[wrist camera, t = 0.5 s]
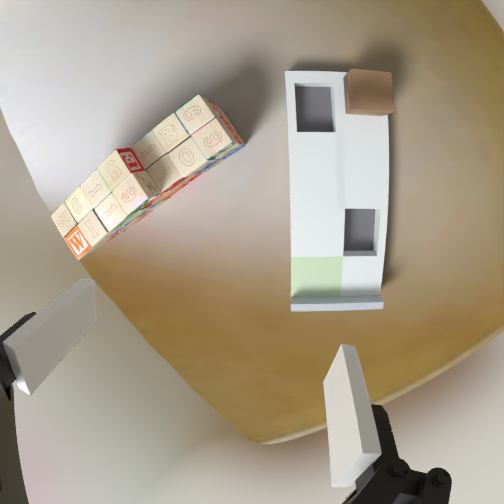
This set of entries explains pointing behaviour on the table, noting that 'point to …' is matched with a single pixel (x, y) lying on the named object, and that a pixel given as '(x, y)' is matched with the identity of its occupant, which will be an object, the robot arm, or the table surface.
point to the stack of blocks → (146, 174)
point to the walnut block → (368, 92)
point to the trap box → (335, 196)
